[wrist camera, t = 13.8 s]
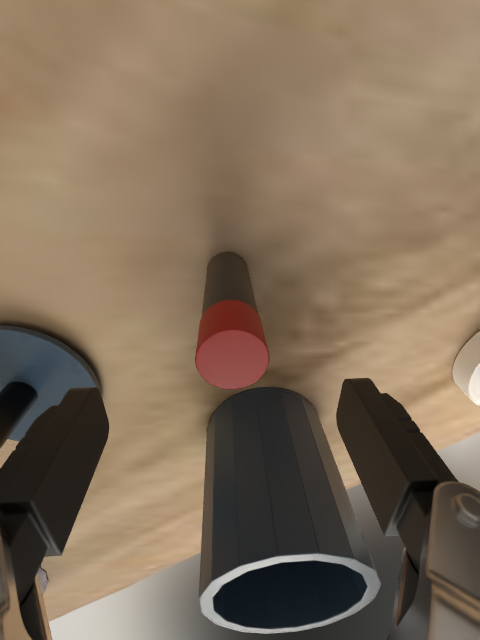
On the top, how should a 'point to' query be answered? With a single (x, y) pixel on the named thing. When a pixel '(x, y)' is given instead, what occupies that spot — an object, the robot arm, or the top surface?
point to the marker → (230, 327)
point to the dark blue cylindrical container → (277, 520)
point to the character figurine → (469, 369)
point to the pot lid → (35, 377)
